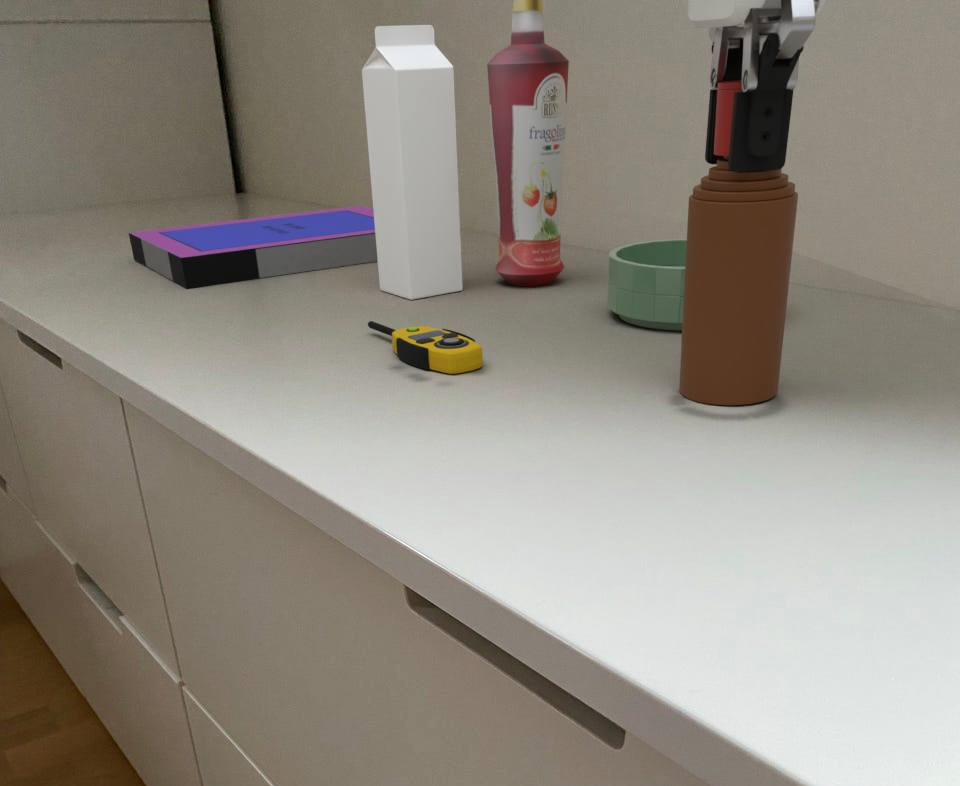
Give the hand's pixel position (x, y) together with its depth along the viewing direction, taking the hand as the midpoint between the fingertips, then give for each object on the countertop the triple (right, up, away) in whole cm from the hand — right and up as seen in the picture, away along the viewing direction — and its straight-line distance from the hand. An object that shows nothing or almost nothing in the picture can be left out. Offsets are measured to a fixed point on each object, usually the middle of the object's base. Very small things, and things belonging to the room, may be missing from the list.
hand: (743, 162), depth 58 cm
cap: (0, 0, 0) cm, 1 cm away
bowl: (+2, 0, +26) cm, 26 cm away
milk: (-21, +6, +38) cm, 44 cm away
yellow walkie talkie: (-21, -6, +19) cm, 28 cm away
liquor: (-11, +7, +39) cm, 42 cm away
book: (-38, +16, +57) cm, 70 cm away
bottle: (+1, -12, +7) cm, 14 cm away
